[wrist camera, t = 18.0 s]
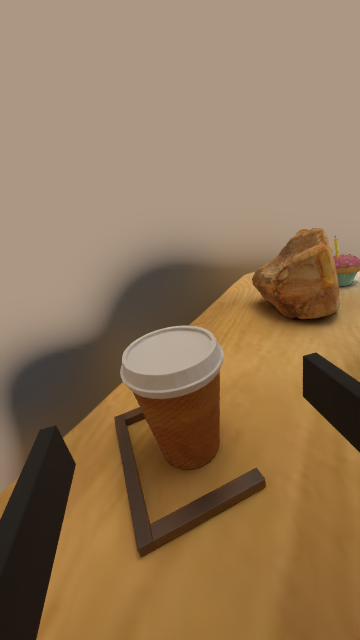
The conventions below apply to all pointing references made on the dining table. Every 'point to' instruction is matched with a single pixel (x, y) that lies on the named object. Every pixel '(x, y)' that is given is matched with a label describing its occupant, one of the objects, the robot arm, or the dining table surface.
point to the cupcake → (345, 266)
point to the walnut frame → (185, 516)
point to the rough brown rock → (301, 277)
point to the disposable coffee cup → (178, 391)
